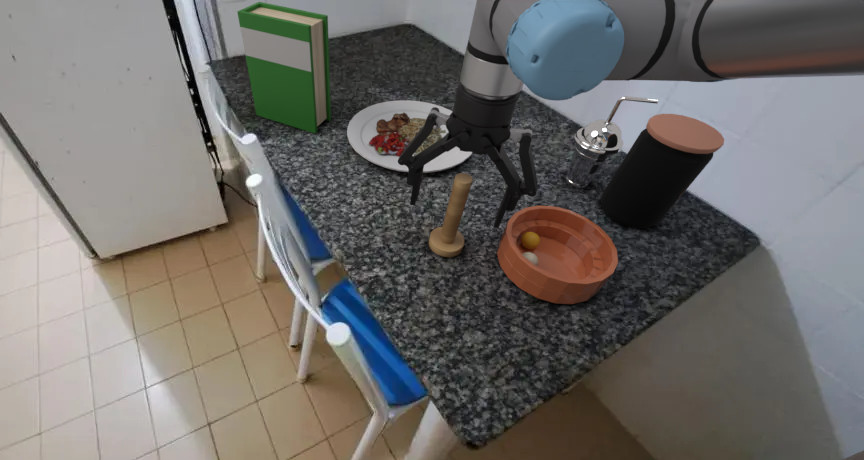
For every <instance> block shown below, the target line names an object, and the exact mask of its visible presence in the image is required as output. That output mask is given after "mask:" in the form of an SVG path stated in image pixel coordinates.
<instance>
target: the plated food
mask: <svg viewBox="0 0 864 460" xmlns="http://www.w3.org/2000/svg"><path fill="white" fill-rule="evenodd" d="M433 107H437V108H438V109H439V112H440V113H443V114H446V115H450V114H451V113H452V111H453V110H451V109H449V108H447V107H444V106H441V105H438V104H435V103H431V102H426V101H420V100H419V101H418V100H409V99H408V100H404V99H403V100H402V99H401V100H400V99H399V100H398V99H397V100H387V101H383V102H379V103H378V102H377V103H375V104H373V105H369V106H367V107H365V108H363V109H361V110H359V111H358V112H357V113H356V114H354V115H353V117H352V118H351V119H350V120H349V122H348V126H347V127H346V130H347V131H346V132H347V133H346V134H347V135H346V137H347V140H348V143H349V145H350V146H351V147H352V149H353V150H354V151H355V152H356V153H357V154H358V155H359V156H361V157H362V158H364V159H365V160H367V161H369V162H370V163H372V164H375V165H377V166H380V167H382V168H385V169H388V170H392V171H396V172H402V173H408V171H409V169H408V167H407V166H405V165H400V164H398V159H399V157H400V155H401V154H402V152H403V150H404V149H405V148H406V147H407V145H408V144H409V143H410V142H411V140H412V139H413V138H414V137H415V135H416V134H417V133H418V132H419V131H420V129H421V128H422V127H423V126H424V124H425V123H426V119H427V117H428V115H429V113H430V111H431V109H432V108H433ZM447 133H448V130H447V128H446V125H441V126H440V127H439V128H438V129H433V130H432V132H431V133H430V135H429V136H428V137H427V139H426V140H425V141H424V142H423V143H422V144H421V146H420V147H419V148H418V149H417V150H416V151H415V153H414V154H413V155H412V156H414V155H415V154H416V155H417V154H419V153H420V152H422V151H423V150H425V149H426V148H428V147H429V146H431V145H432V144H434V143H435V142H437V141H438V140H440V139H441V138H443V137H444V136H445V135H446V134H447ZM472 154H474V153H473V152H464V151H460V149H459V148H458V147H457V146H456V147H455V148H453V149H451V150H450V151H448V152H447V151H446V152H444V153H443V154H441V155H439V156H438V157H436V158H435V159H433V160H431V161H430V162H428V163H427V164H425V165H424V168H423V174H427V173H435V172H441V171H445V170H449V169H452V168H454V167H457V166H459V165H461V164H462V163H464V162H465V161H466V160H468V159H470V157H471V156H472ZM416 155H415V156H416Z"/></svg>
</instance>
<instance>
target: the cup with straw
mask: <svg viewBox="0 0 864 460" xmlns="http://www.w3.org/2000/svg"><path fill="white" fill-rule="evenodd" d="M624 101H627V102H637V103H647V104H656V105H658V103H659V99H658V98H647V97H640V96H639V97H638V96H628V95H624V96H621V97H619V98H618V99H617V101H616V103H615V104H614V106H613V108H612V109H611V111H610V114H609V115H608V117H607V119H598V120H594V121H591V122H589V123H588V124H586V125H585V126H584V127H581V128H579V129H578V130H577V131H576V132H575V134H574V140H575V147H574V152H573V154H572V157H571V160H570V163H569V166H568V169H567V170H566V176H565V177H564V180H565V182H566V183H567V184H568V185H570V186H571V187H574V188H578V189H584V188H587V187H588V186H589V184H590V183H591V182H592V180H593V179H594V178H595V177H596V175H597V174H598V173H599V171H600V170H601V169H602V168H603V166H605V164H606V162H608V161H609V160H610V159H611V157H612V158H613V155H616V154H619V153H620V152H621V151H622V150H623V147H624V140H623V139H622V138H623V133H622V130H621V128H620V126H618V124H617V123H615V122H613V119H614V117H615V115H616V113H617V111H618V109H619V108H620V106H621V104H622V103H623V102H624Z"/></svg>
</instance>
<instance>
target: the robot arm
mask: <svg viewBox="0 0 864 460" xmlns="http://www.w3.org/2000/svg"><path fill="white" fill-rule="evenodd" d="M472 16H473V17H472V20H471V26H470V30H469V35H468V40H467V44H466V47H465V52H464V57H463V62H462V66H461V72H460V76H459V81H460V82H459V83H458V85H457V89H456V94H455V98H454V102H453V108H452V110H451V111H452V113H451V114H450V115H446V114H443V113H440V112H439V109H438V108H437V107H433V108H432V109H431V111H430V113H429V115H428V117H427V119H426V123H425V124H424V126H423V127H422V128H421V129H420V131H419V132H418V133H417V134H416V135H415V137H414V138H413V139H412V140H411V142H410V143H409V144H408V145H407V147H406V148H405V149H404V150H403V152H402V154H401V155H400V157H399V159H398V164H400V165H405V166H407V167H408V169H409V171H408V172H407V178H406V179H407V180H406V183H407V185H408V186H410V187H412V189H411V195H410V200H409V205H411V206H415V205H416V202H417V200H418V198H419V196H420V190H421V185H422V184H421V183H422V179H423V174H424V173H423V168H424V165H425V164H427V163H428V162H430V161H431V160H433V159H435V158H436V157H438V156H439V155H441V154H443V153H444V152H446V151H447V152H448V151H450V150H451V149H453V148H455V147H456V146H457V147H458V148H459V149H460V151H464V152H473V153H472V154H475V155H479V156H483V155H486V154H487V157H489V159H490V161H491V163H494V165H495V167H496V169H497V170H498V172H499V174H500V175H501V177H502V179H503V180H504V182H505V184H506V185H507V187H506V189H505V192H504V193H503V197H502V199H501V201H500V204H499V207H498V209H497V212H496V213H495V219H494V223H493V227H494V228H496V229H499V228H500V226H501V224H502V221H503V218H504V216H505V214H506V211H509V212H513V211H515V209H516V207H517V204H518V202H519V200H521V199H522V196H528V197H530V198H533V197H535V196H537V192H538V178H537V172H536V167H535V166H536V165H535V161H534V156H533V151H532V145H531V144H532V139H533V133H534V132H533V131H534V129H533V127H532V126H530V125H525V126H524V127H523V128H513V127H512V126H511V125H512V124H511V123H512V120H513V116H514V114H515V111H516V108H517V105H518V103H519V100H520V92H521V91H522V90H523V88H524V85H525V87H527V89H528V90H529V91H530V92H531V93H533V94H534V95H535V96H537V97H539V98H542V99H545V100H548V101H556V102H557V101H558V102H559V101H565V100H570V99H572V98H573V97H576V96H578V95H581V94H583V93H588V92H590V91H592V90H593V89H595V88H596V87H598V86H599V85H600V84H601V83H603V82H604V81H625V82H626V81H627V82H628V81H656V82H657V81H663V82H691V83H718V82H724V81H732V80H733V81H734V80H738V79H741V80H742V79H775V78H776V79H778V78H811V77H813V78H815V77H816V78H817V77H818V78H819V77H850V76H851V77H853V76H864V0H476V2H475V7H474V12H473V15H472ZM441 125H446V128H447V130H448V133H447V134H446V135H445V136H444V137H443V138H441V139H440V140H438V141H437V142H435V143H434V144H432V145H431V146H429V147H428V148H426V149H425V150H423V151H422V152H420V153H419V154H417V155H416V154H415V155H416V156H415V155H414V156H412V155H413V154H414V153H415V151H416V150H417V149H418V148H419V147H420V146H421V144H422V143H423V142H424V141H425V140H426V139H427V137H428V136H429V135H430V133H431V132H432V130H433V129H438V128H439V127H440V126H441ZM508 140H512V142H513V144H514V146H515V148H519V149H518V156H519V161H520V166H521V171H522V177H523V180H524V181H523V180H522V179H521V177H520V175H519V173H518V171H517V169H516V168H515V166H514V164H513V162H512V161H511V158H510V157H509V155H508V154H507V152H506V149H505V146H504V143H505V142H507V141H508ZM842 460H864V450H861V451H859V452H857V453H854V454H852V455H849V456H847V457H845V458H843V459H842Z"/></svg>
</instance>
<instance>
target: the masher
mask: <svg viewBox="0 0 864 460" xmlns="http://www.w3.org/2000/svg"><path fill="white" fill-rule="evenodd" d="M473 180H474V179H473V176H472V175H471V174H469V173H466V172H459V173H456V174H455V176H454V180H453V184H452V188H451V191H450V196H449V199H448V203H447V207H446V210H445V215H444V218H443V222H442V226H438V227H435V228H433V230H432V231H431V232H430V234H429V239H428V247H429V249H430V250H431V251H432V252H433V253H434V254H436V255H437V256H439V257H443V258H454V257H456V256H458V255H460V254H461V253H462V251H463V249H464V246H465V238H464V235H463V234H462V233H461V232H460V231H459V228H460V224H461V220H462V217H463V213H464V211H465V207H466V204H467V201H468V197H469V193H470V190H471V187H472V184H473Z"/></svg>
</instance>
